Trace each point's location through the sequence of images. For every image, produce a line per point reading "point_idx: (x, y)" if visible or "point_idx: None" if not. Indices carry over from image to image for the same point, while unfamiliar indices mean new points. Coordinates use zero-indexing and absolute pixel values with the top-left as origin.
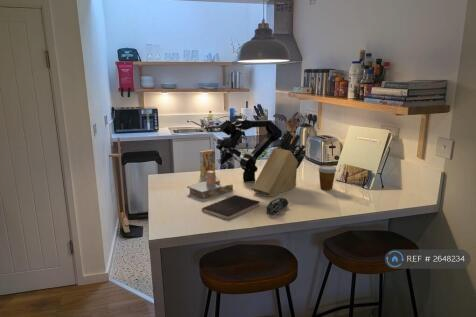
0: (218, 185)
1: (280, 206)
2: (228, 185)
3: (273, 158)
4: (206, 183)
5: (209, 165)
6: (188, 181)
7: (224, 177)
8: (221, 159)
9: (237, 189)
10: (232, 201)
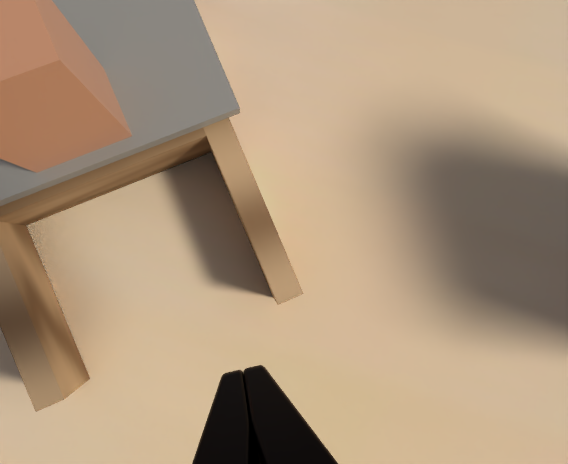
0: None
1: None
2: (20, 344)
3: None
4: (99, 64)
5: None
6: (533, 24)
7: (552, 441)
8: (275, 455)
9: (61, 444)
10: None
